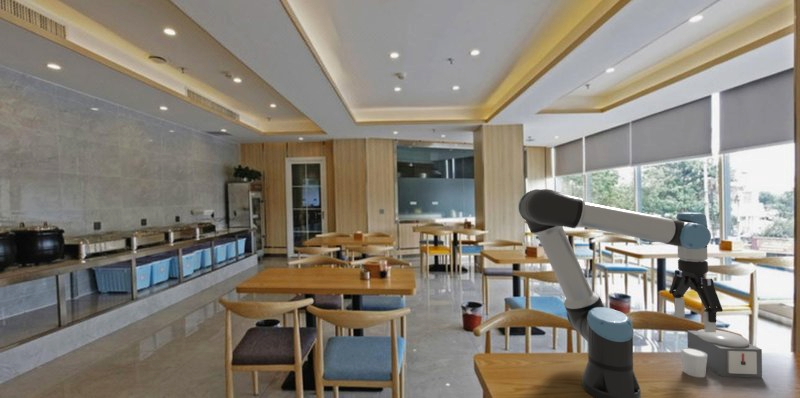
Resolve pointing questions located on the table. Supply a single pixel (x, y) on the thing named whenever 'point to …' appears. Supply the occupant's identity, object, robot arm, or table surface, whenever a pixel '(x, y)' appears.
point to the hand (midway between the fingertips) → (694, 324)
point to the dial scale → (727, 353)
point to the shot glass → (694, 362)
